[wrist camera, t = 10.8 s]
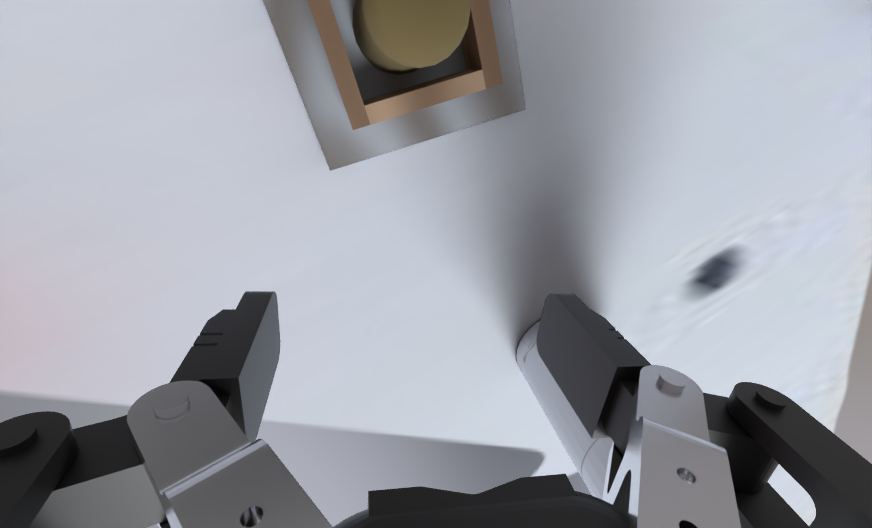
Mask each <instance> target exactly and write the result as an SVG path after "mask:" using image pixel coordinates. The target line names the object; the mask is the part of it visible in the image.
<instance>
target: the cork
mask: <svg viewBox="0 0 872 528" xmlns="http://www.w3.org/2000/svg"><path fill="white" fill-rule="evenodd" d="M470 9H471V3H470V0H356V3H355V6H354V9H353V22H352V27H353V31H354V36H355V40H356V43H357V45H358V47H359V48H360V50H361V52H362V54H363V56H364V57H365V58H366V59H367V60H368V61H369V62H370V63H371V64H372V65H373V66H374V67H376V68H378V69H380V70H382V71H384V72H386V73H391V74H397V75H401V74H406V73H411V72H414V71H415V70H417V69H419V68H422V67H427V66H432V65H436V64H437V63H439V62H441V61H443V60H444V59H446V58H448V57H449V56H450V55H451V54H452V53H453V51H454V50H455V49H456V48H457V47H458V46H459V44H460V43H461V41H462V39H463V36H464V34H465V32H466V30H467V27H468V22H469V16H470Z"/></svg>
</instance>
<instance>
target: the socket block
mask: <svg viewBox="0 0 872 528" xmlns="http://www.w3.org/2000/svg"><path fill="white" fill-rule="evenodd" d="M263 1H264V4H265V6H266V9H267V12H268V14H269V17H270V19H271V22H272V24H273V27H274V29H275V32H276V34H277V37H278V39H279V42H280V44H281V47H282V50H283V52H284V55H285V57H286V60H287V62H288V65H289V67H290V70H291V72H292V75H293V77H294V80H295V82H296V85H297V88H298V90H299V93H300V95H301V98H302V100H303V103H304V105H305V108H306V110H307V113H308V115H309V118H310V120H311V123H312V126H313V128H314V131H315V133H316V136H317V138H318V141H319V143H320V146H321V148H322V151H323V153H324V156H325V158H326V161H327V164H328V166H329V169H330V171H331V170H334V169H337V168H340V167H343V166H347V165H350V164H353V163H356V162H359V161H362V160H366V159H369V158H372V157H375V156H378V155H382V154H385V153H388V152H391V151H394V150H398V149H401V148H404V147H407V146H410V145H413V144H417V143H420V142H423V141H426V140H429V139H433V138H436V137H439V136H442V135H445V134H449V133H452V132H455V131H458V130H461V129H464V128H468V127H471V126H474V125H477V124H480V123H484V122H487V121H490V120H493V119H496V118H500V117H503V116H506V115H509V114H512V113H515V112H519V111H522V110H525V102H524V95H523V88H522V82H521V75H520V68H519V61H518V55H517V48H516V41H515V34H514V28H513V21H512V14H511V7H510V0H470V3H471V9H470V16H469V22H468V27H467V30H466V32H465V34H464V36H463V39H462V41H461V43H460V44H459V46H458V47H457V48H456V49H455V50H454V51H453V53H452V54H451V55H450V56H449V57H448V58H446V59H444V60H443V61H441V62H439V63H437V64H436V65H432V66H427V67H422V68H419V69H417V70H415V71H414V72H411V73H406V74H401V75H397V74H391V73H386V72H384V71H382V70H380V69H378V68H376V67H374V66H373V65H372V64H371V63H370V62H369V61H368V60H367V59H366V58H365V57H364V56H363V54H362V52H361V50H360V48H359V47H358V45H357V43H356V40H355V36H354V31H353V27H352V22H353V9H354V6H355V3H356V0H263Z"/></svg>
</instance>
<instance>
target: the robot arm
mask: <svg viewBox="0 0 872 528" xmlns="http://www.w3.org/2000/svg"><path fill="white" fill-rule="evenodd" d="M279 354H280V332H279V319H278V305H277V296H276V293H275V292H245V293H244V295H243V297H242V299H241V300H240V302H239V304H238V306H237V308H236V310H222V311H221V312H219V313H218V314H216V315H215V316H214V317H212V318H211V319H209V320H208V321H207V323H206V325H205V326H204V328H203V329H202V331H201V333H200V336H198V337H197V339H196V341H195V342H194V346H193V347H191V349H190V350H189V352H188V354H187V355H186V357H185V359H184V360H183V362H182V363H181V365H180V367H179V368H178V370H177V371H176V373H175V375H174V376H173V378H172V380H171V381H170V383H168V384H165V385H162V386H159V387H157V388H155V389H153V390H151V391H149V392H147V393H146V394H144V395H143V396H141V397H140V398H139V399H138V400H137V401H136V402H135V403H134V404H133V405H132V406H131V408H130V409H129V411H128V414H127V415H125V416H123V417H119V418H116V419H112V420H108V421H104V422H101V423H96V424H93V425H88V426H84V427H80V428H76V429H72V427H71V424H70V421H69V419H68V418H67V417H66V416H65V415H63V414H60V413H57V412H36V413H30V414H25V415H22V416H18V417H15V418H12V419H9V420H6V421H4V422H2V423H0V528H146V527H149V526H152V525H154V524H157V525H158V527H159V528H872V464H871V463H869V462H868V461H867V460H866V459H865V458H863V457H862V456H861V455H859V454H858V453H857V452H856V451H855V450H853V449H852V448H851V447H850V446H848V445H847V444H846V443H845V442H843V441H842V440H841V439H840V438H838V437H837V436H836V435H835V434H833V433H832V432H831V431H830V430H828V429H827V428H826V427H825V426H823V425H822V424H821V423H820V422H819V421H817V420H816V419H815V418H814V417H812V416H811V415H810V414H809V413H807V412H806V411H805V410H804V409H802V408H801V407H800V406H799V405H797V404H796V403H795V402H794V401H792V400H791V399H790V398H788V397H786V396H785V395H783V394H781V393H780V392H778V391H776V390H773V389H771V388H769V387H766V386H763V385H760V384H756V383H751V382H741V383H738V384H736V385H735V387H734V389H733V391H732V393H731V395H730V397H729V398H728V397H723V396H717V395H712V394H707V393H703V392H702V390H701V389H700V387H699V386H698V385H697V384H696V383H695V382H694V381H693V380H692V379H690V378H689V377H687V376H686V375H684V374H682V373H680V372H678V371H676V370H674V369H671V368H668V367H664V366H658V365H651V364H650V363H649V362H648V361H647V360H646V359H645V358H644V357H643V356H642V355H641V354H640V353H639V352H638V351H637V350H636V349H635V348H634V347H633V346H632V345H631V344H630V343H629V342H628V341H627V340H626V339H624V337H623V336H622V335H621V334H620V333H619V332H618V331H616V330H615V328H614V327H613V326H612V325H611V324H610V323H609V322H608V321H607V320H606V319H605V318H604V317H602V316H600V315H599V314H597V313H595V312H594V311H592V310H590V309H589V308H588V307H587V306H586V305H585V304H584V303H583V302H582V301H581V300H580V299H579V298H578V297H577V296H576V295H574V294H549V295H548V296H547V298H546V300H545V304H544V308H543V312H542V316H541V320H540V321H539V322H537V323H536V324H534V325H533V326H532V327H531V328H530V329H529V330H528V331H527V332H526V333H525V334H524V336H523V337H522V339H521V341H520V343H519V346H518V348H517V355H516V357H517V363H518V366H519V368H520V370H521V372H522V373H523V375H524V377H525V379H526V380H527V382H528V384H529V386H530V387H531V389H532V391H533V393H534V395H535V396H536V398H537V400H538V402H539V404H540V405H541V407H542V409H543V411H544V412H545V414H546V416H547V418H548V419H549V421H550V423H551V425H552V426H553V428H554V430H555V432H556V433H557V435H558V437H559V439H560V440H561V442H562V444H563V446H564V447H565V449H566V451H567V453H568V454H569V456H570V458H571V460H572V461H573V463H574V465H575V467H576V468H577V470H578V472H579V474H580V475H581V477H582V479H583V480H584V482H585V484H586V485H587V487H588V489H589V491H590V493H591V494H592V495H588V494H585V493H581V492H577V491H574V489H573V487H572V485H571V483H570V481H569V479H568V478H567V476H566V474H558V475H547V476H536V477H524V478H519V479H516V480H514V481H511V482H508V483H506V484H503V485H500V486H498V487H495V488H493V489H490V490H488V491H485V492H482V493H479V494H465V493H459V492H452V491H446V490H439V489H433V488H427V487H410V488H399V489H387V490H376V491H369V492H368V509H367V510H364V511H362V512H359V513H357V514H355V515H353V516H351V517H349V518H347V519H345V520H343V521H342V522H340V523H339V524H338V525H336V526H334V527H332V526H331V524H330V523H329V522H328V521H327V519H326V518H325V517H324V515H323V514H322V513H321V512H320V510H319V509H318V508H317V507H316V505H315V504H314V503H313V501H312V500H311V499H310V497H309V496H308V495H307V494H306V492H305V491H304V490H303V488H302V487H301V486H300V485H299V483H298V482H297V481H296V479H295V478H294V477H293V476H292V474H291V473H290V472H289V471H288V469H287V468H286V467H285V465H284V464H283V463H282V462H281V460H280V459H279V458H278V456H277V455H276V454H275V453H274V451H273V450H272V449H271V447H270V446H269V445H268V444H267V443H266V442H265V441H264V440H262V439H258V440H256V437H257V434H258V430H259V427H260V423H261V420H262V416H263V413H264V409H265V406H266V402H267V399H268V395H269V392H270V388H271V385H272V381H273V378H274V375H275V371H276V368H277V364H278V360H279ZM778 464H780V465H781V466H782V467H783V468H784V469H785V470H786V471H787V472H788V473H789V474H790V475H791V476H792V477H793V478H794V479H795V480H796V481H797V482H798V483H799V484H800V485H801V486H802V487H803V488H804V489H805V490H806V491H807V492H808V494H809V495H810V496H811V498H812V500H813V502H814V504H815V507H816V517H815V519H814V521H813V522H812V524H811V525H810V526H808V525H807V524H806V523H805V522H804V521H803V520H802V519H801V518H800V517H799V515H798V514H797V513H796V512H795V511H794V510H793V509H792V508H791V507H790V506H789V505H788V504H787V503H786V502H785V500H784V499H783V498H782V497H781V496H780V495H779V494H778V493H777V492H776V491H775V490H774V489H773V488H772V487H771V485H770V484H769V483H768V482H767V481H768V480H769V478H770V476H771V475H772V473H773V472H774V470H775V469H776V467H777V466H778Z"/></svg>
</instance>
